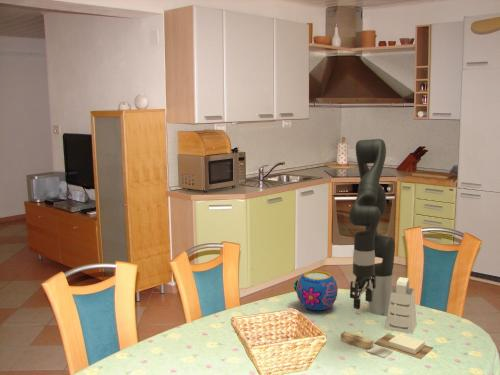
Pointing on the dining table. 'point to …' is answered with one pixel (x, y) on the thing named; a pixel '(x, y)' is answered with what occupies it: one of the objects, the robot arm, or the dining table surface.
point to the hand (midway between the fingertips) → (362, 304)
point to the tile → (406, 344)
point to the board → (384, 343)
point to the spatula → (365, 344)
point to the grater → (402, 307)
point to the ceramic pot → (316, 290)
